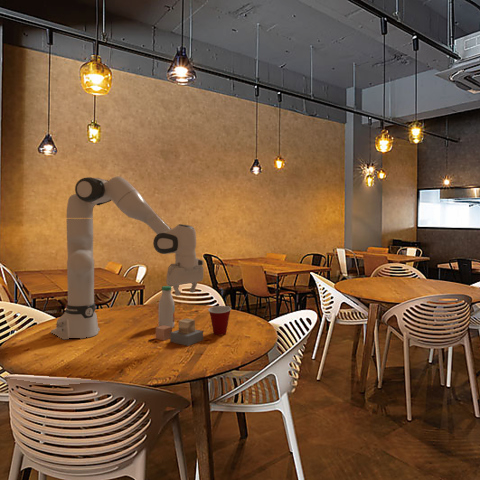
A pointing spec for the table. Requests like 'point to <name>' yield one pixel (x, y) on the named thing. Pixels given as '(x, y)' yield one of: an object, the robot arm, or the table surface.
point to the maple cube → (186, 326)
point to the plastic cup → (219, 319)
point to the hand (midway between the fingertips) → (185, 293)
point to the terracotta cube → (163, 332)
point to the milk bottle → (166, 308)
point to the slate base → (186, 337)
